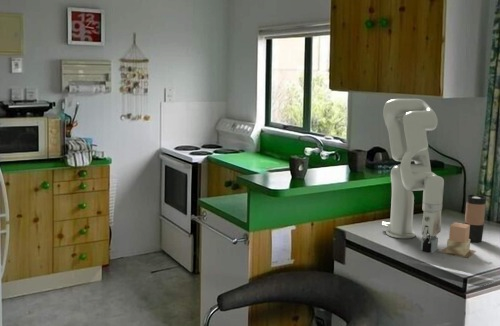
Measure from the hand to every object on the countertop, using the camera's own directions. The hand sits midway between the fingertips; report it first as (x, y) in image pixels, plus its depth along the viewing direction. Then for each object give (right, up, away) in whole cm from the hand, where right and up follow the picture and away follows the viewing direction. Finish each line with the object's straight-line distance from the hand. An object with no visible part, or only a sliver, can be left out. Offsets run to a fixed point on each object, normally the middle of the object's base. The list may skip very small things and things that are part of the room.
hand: (429, 249), depth 232 cm
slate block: (0, -1, 0) cm, 1 cm away
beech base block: (+11, 0, -2) cm, 11 cm away
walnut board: (+11, -1, -2) cm, 11 cm away
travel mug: (+23, +1, +13) cm, 26 cm away
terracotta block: (+11, +5, -3) cm, 12 cm away
